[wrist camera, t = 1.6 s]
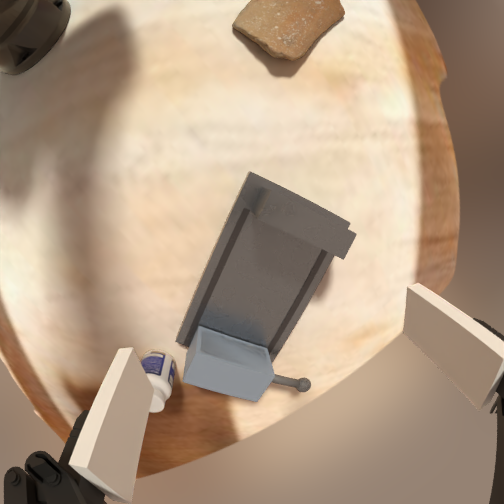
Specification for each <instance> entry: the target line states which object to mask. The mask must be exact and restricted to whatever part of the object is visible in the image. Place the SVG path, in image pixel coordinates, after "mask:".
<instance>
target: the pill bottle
mask: <svg viewBox="0 0 504 504" xmlns="http://www.w3.org/2000/svg"><path fill="white" fill-rule="evenodd" d="M141 365H142V367H143V369H144V371H145V373H146V375H147V377H148V379H149V381H150V382H151V384H152V386H153V388H154V394H153V398H152V402H151V406H150V411H149V412H160V411H162V410H163V409H164V406H165V401H166V400H167V399H168V398H169V397H170V396H171V392H172V387H173V380H174V375H175V368H176V364H175V361H174V359H173V357H172V356H171V355H170V354H168V353H167V352H165V351H162V350H150V351H148V352H146V353H145V354H144V356H143V358H142V361H141Z"/></svg>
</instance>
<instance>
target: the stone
mask: <svg viewBox="0 0 504 504" xmlns="http://www.w3.org/2000/svg"><path fill="white" fill-rule="evenodd" d="M344 14H345V11H344V9H343V7H342V5H341V3H340V0H251V1H250V2H249V3H248V4H247V5H246V7H245V8H244V9H243V10H242V11H241V12H240V14H239V15H238V17H237V18H236V20H235V21H234V23H233V25H232V26H233V28H235V29H236V30H238V31H240V32H242V33H243V34H244V35H245V36H247V37H248V38H249V39H251V40H252V41H254V42H256V43H258V44H259V45H260V46H261V47H262V49H263V50H265V51H266V52H268V53H269V54H270V55H271V56H272V57H274V58H276V57H278V58H287V59H289V60H296V59H299V58H301V57H302V56H304V54H305V53H306V52H307V50H308V49H309V48H310V47H311V45H312V44H313V43H314V41H315V40H317V38H318V37H319V36H320V35H321V34H322V33H324V32H325V31H326V30H327V29H328V28H329V27H330V26H331V25H332V24H333V23H335V22H336V21H338V20H339V19H340V18H341V17H343V16H344Z"/></svg>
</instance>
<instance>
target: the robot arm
mask: <svg viewBox="0 0 504 504" xmlns="http://www.w3.org/2000/svg"><path fill="white" fill-rule="evenodd" d="M69 16H70V4H69V3H68V1H67V0H0V71H1V72H4V73H7V74H10V75H16V74H20V73H22V72H24V71H26V70H28V69H29V68H31V67H32V66H33V65H35V64H36V63H37V62H38V61H39V60H40V59H42V58H43V57H44V56H45V54H46V53H47V52H48V51H49V50H50V49H51V48H52V46H53V45H54V44H55V43H56V41H57V40H58V38H59V37H60V35H61V34H62V32H63V30H64V29H65V27H66V25H67V22H68V20H69ZM403 333H404V334H405V335H406V336H407V337H408V338H409V339H410V340H411V341H412V342H413V343H414V344H415V345H416V346H417V347H418V348H419V349H420V350H421V351H422V352H423V353H424V354H425V355H426V356H427V357H428V358H429V359H430V360H431V361H432V362H433V363H434V364H435V365H436V366H437V367H438V368H439V369H440V370H441V371H442V372H443V373H444V374H445V375H446V376H447V377H448V378H449V379H450V380H451V382H452V383H453V384H454V385H455V386H456V387H457V388H458V389H459V390H460V391H461V392H462V393H463V394H464V395H465V396H466V397H467V398H468V400H470V402H471V403H472V404H473V405H474V406H475V407H476V408H477V409H478V410H481V409H482V408H483V407H484V406H486V405H487V404H488V403H489V402H490V401H491V399H492V397H493V396H494V394H495V392H497V393H498V394H499V396H498V397H497V400H496V401H495V403H494V405H493V407H492V409H491V411H490V413H493V411H494V409H495V407H496V406H497V410H496V412H495V413H497V451H496V464H495V473H494V480H493V486H492V493H491V498H490V503H489V504H504V336H503V335H502V334H501V333H498V332H497V331H496V330H495V329H494V328H491V326H489V325H488V324H486V323H485V322H484V321H481V320H478V319H475V318H473V319H472V318H470V317H469V316H468V315H466V314H465V313H463V312H462V311H460V310H459V309H457V308H456V307H455V306H453V305H451V304H450V303H449V302H447V301H446V300H444V299H443V298H441V297H440V296H438V295H437V294H435V293H433V292H432V291H430V290H429V289H427V288H426V287H424V286H423V285H421V284H419V283H417V284H414V285H411V286H408V287H407V297H406V309H405V319H404V328H403ZM153 394H154V388H153V386H152V384H151V382H150V381H149V379H148V377H147V375H146V373H145V371H144V369H143V367H142V365H141V363H140V361H139V358H138V356H137V354H136V352H135V350H134V348H133V347H130V348H120V349H119V350H118V352H117V354H116V356H115V358H114V360H113V362H112V364H111V366H110V368H109V370H108V372H107V374H106V376H105V378H104V381H103V383H102V385H101V387H100V389H99V391H98V394H97V396H96V398H95V400H94V402H93V405H92V407H91V409H90V411H89V410H84V411H83V412H82V414H81V415H80V416H79V417H78V418H77V419H76V422H75V424H74V426H73V430H72V431H71V433H70V437H69V438H68V440H67V442H66V445H65V447H64V450H63V452H62V455H61V457H60V460H59V462H56V461H55V460H54V459H53V458H52V457H51V456H50V455H49V454H48V453H46V452H45V451H37V452H34V453H32V454H31V455H30V456H29V457H28V458H27V460H26V463H25V471H26V472H27V473H28V474H29V475H28V474H27V473H26V472H25V471H24V470H23V469H21V468H20V467H12V468H10V469H9V470H8V471H7V473H6V474H5V477H4V504H107V503H106V502H105V501H104V497H105V495H107V496H108V497H109V498H110V499H112V500H113V501H117V502H123V503H130V504H131V502H132V496H133V490H134V484H135V478H136V473H137V467H138V462H139V457H140V452H141V447H142V442H143V437H144V433H145V428H146V424H147V419H148V415H149V411H150V406H151V402H152V398H153Z"/></svg>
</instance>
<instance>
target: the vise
mask: <svg viewBox="0 0 504 504" xmlns="http://www.w3.org/2000/svg"><path fill="white" fill-rule="evenodd" d="M349 225H350V222H348V221H346V220H344V219H342V218H341V217H339V216H337V215H335V214H333V213H332V212H330V211H328V210H326V209H324V208H322V207H320V206H319V205H317V204H315V203H313V202H311V201H309V200H307V199H305V198H303V197H301V196H299V195H297V194H295V193H293V192H291V191H289V190H287V189H285V188H283V187H281V186H279V185H277V184H275V183H273V182H271V181H269V180H267V179H265V178H263V177H261V176H259V175H256V174H254V173H252V172H248V174H247V176H246V179H245V181H244V183H243V185H242V187H241V189H240V191H239V193H238V196H237V198H236V200H235V202H234V204H233V206H232V209H231V211H230V213H229V215H228V217H227V219H226V222H225V224H224V226H223V228H222V231H221V233H220V235H219V237H218V239H217V242H216V244H215V246H214V248H213V251H212V253H211V255H210V258H209V260H208V262H207V264H206V267H205V269H204V271H203V274H202V276H201V278H200V281H199V283H198V285H197V288H196V290H195V293H194V295H193V297H192V300H191V302H190V305H189V307H188V309H187V312H186V314H185V317H184V319H183V322H182V324H181V327H180V329H179V332H178V334H177V337H176V342H178V343H180V344H183V345H185V346H188V347H190V344H191V342H192V340H193V338H194V335H195V333H196V331H197V329H198V326H201V327H204V328H207V329H210V330H213V331H215V332H218V333H221V334H224V335H227V336H230V337H233V338H236V339H239V340H242V341H245V342H248V343H252V344H255V345H258V346H261V347H265V348H267V349H268V352H269V356H270V360H271V363H272V362H273V360H274V359H275V357H276V356H277V354H278V352H279V351H280V349H281V348H282V346H283V344H284V343H285V341H286V340H287V338H288V336H289V335H290V333H291V331H292V330H293V328H294V326H295V325H296V323H297V321H298V320H299V318H300V316H301V315H302V313H303V311H304V309H305V308H306V306H307V304H308V302H309V301H310V299H311V297H312V295H313V294H314V292H315V290H316V288H317V286H318V285H319V283H320V281H321V279H322V277H323V276H324V274H325V272H326V270H327V268H328V266H329V264H330V262H331V261H332V259H333V257H334V255H335V256H337V257H339V258H341V259H343V260H344V258H345V256H346V254H347V252H348V250H349V248H350V246H351V245H352V243H353V241H354V239H355V237H356V235H357V234H356V233H354V232H352V231H350V230H348V227H349Z"/></svg>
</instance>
